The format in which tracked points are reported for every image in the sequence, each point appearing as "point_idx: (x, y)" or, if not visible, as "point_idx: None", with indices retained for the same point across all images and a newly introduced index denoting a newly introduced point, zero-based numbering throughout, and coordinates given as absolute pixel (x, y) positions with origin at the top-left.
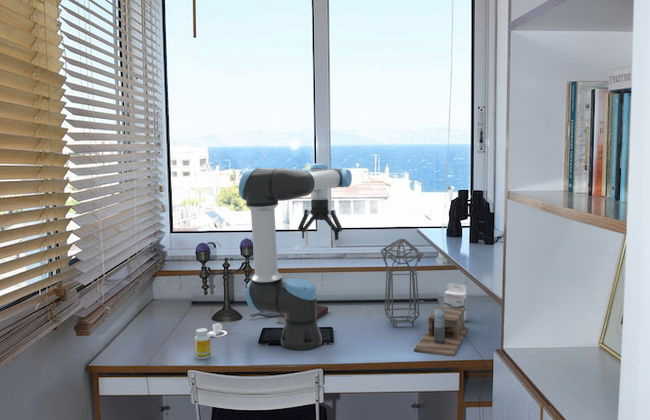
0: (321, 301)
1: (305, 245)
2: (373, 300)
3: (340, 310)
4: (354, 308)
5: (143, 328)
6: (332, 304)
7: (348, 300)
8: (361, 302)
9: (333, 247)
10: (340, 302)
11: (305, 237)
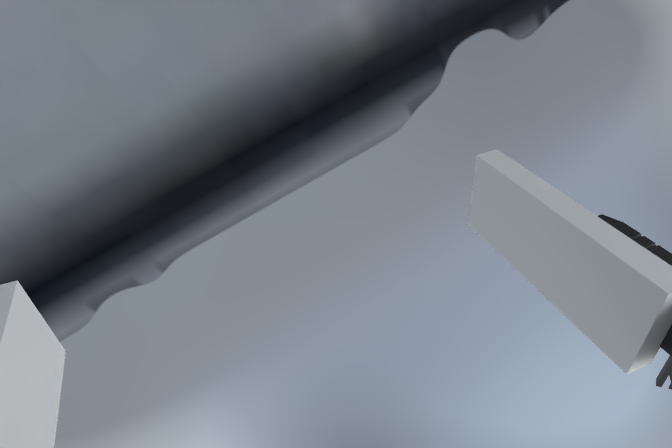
0: (265, 156)
1: (488, 160)
2: (45, 299)
3: (50, 52)
4: (9, 132)
5: None
6: (181, 139)
7: (157, 236)
8: (71, 243)
9: (3, 287)
10: (168, 189)
11: (576, 224)
